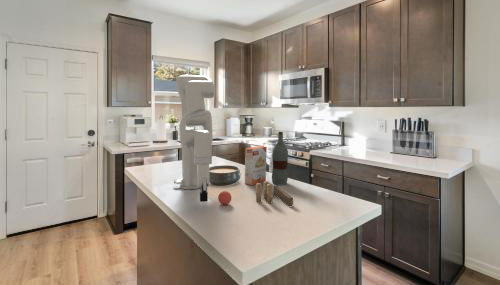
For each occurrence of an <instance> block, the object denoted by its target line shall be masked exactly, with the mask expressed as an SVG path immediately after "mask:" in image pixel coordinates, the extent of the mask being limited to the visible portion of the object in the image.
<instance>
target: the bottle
mask: <svg viewBox="0 0 500 285" xmlns="http://www.w3.org/2000/svg"><path fill="white" fill-rule="evenodd" d="M277 133H278V134H277V136H278V137H277V138H278V139H277V142H276V144H275V145H274V147H273V149H272V152H271V153H272V154H271V157H272V158H271V159H272V160H271V161H272V171H271V182H272V185H274V186H285V185H287V183H288V178H289V177H288V176H289V175H288V160H289V149H288V148H287V146H286V144H285V143H284V132H283V131H278V132H277Z"/></svg>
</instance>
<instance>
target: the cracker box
mask: <svg viewBox="0 0 500 285" xmlns="http://www.w3.org/2000/svg"><path fill="white" fill-rule="evenodd" d="M267 151H268V148H267V146H263V145H258V146H257V145H256V146H251V147H247V148H246V147H245V150H244V156H245V157H244V184H245V185H249V186H254V185H255V186H256V184H257V183H262V182H263V183H264V181H266V180H267V179H266V178H267V153H268V152H267Z"/></svg>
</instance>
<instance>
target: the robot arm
mask: <svg viewBox="0 0 500 285" xmlns="http://www.w3.org/2000/svg"><path fill="white" fill-rule="evenodd" d="M175 83H176V84H175V85H176V90H177V93H178V96H179V98H180V101H181V102H180V103H181V106H180V107H181V119H180V121H179V124H178V126H179V128H178V130H179V141H180V147H181V168H182V169H181V171H182V174H181V175H182V177H181V178H179V179H174V180H173V182H174V184H176V185H179V188H180V189H184V190H197V189H199V191H200V192H199V202H201V203H203V202H204V203H205V202H208V200H209V198H208V195H209V194H208V187H210V165H212V164H213V160H212V159H213V157H212V156H213V151H212V150H213V149H212V148H213V147H212V146H213V145H212V144H213V139H214V138H213V119H212V118H213V116H212V113H211V111H210V110H209V109H206V103H205V99H214V97H215V96H216V87H215V83H214V82H213V80H212V79H211V78H210V77H209V76H207V75H192V74H189V75H188V74H182V75H179V76H178V77H177V78H176V82H175ZM186 127H189V128H191V127H192V128H191V129H186ZM197 127H202V128H201V129H200V128H197Z"/></svg>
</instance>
